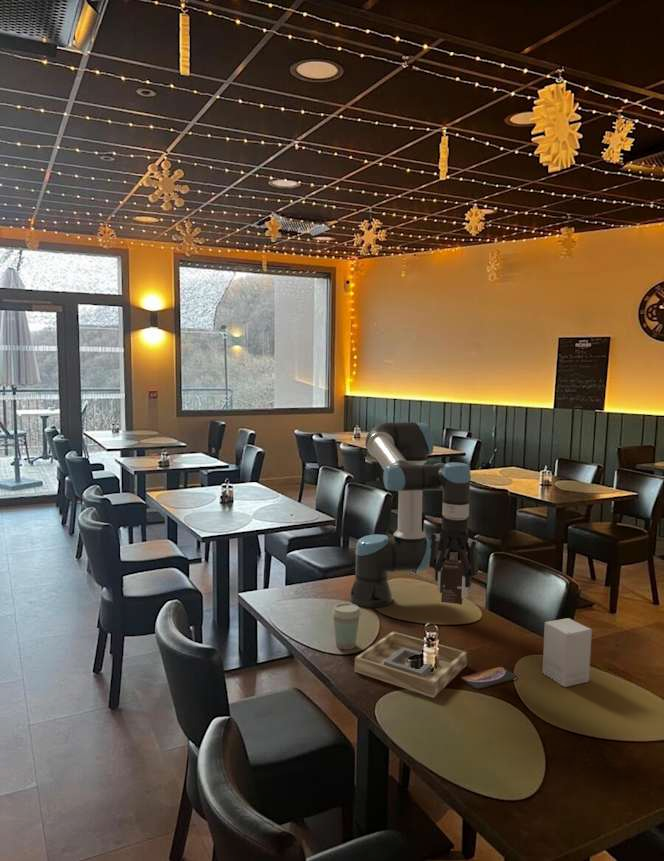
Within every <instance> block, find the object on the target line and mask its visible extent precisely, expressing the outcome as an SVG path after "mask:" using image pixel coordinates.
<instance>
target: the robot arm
mask: <svg viewBox="0 0 664 861" xmlns="http://www.w3.org/2000/svg"><path fill="white" fill-rule="evenodd" d="M365 449H366V450H367V452H368V453H369V455H370V456H371V457H372V458H375V459H376V460H377V461H378V463H379V465H380V466H381V468H382V470H383V475H382V476H383V477H382V478H383V479H382V481H383V484H384V489H386V490H387V491H396V492H398V494H397V495H398V496H397V497H398V500H397V503H398V504H397V508H398V509H397V530H395V532H393V536H392V537H393V539H390V538H389V537H388V535H385V534H368V535H365V536H363V537H361V538H359V539H357V541H356V547H355V552H354V553H355V579H354V582H353V584H352V587H351V590H350V592H349V601H350V602H351V604H355V605H357V606H358V607H362V608H382V607H386V606H389V605H391V603H392V601H393V594H392V590H391V588H390V585H389V581H388V576H389V575H388V574H389V573H399V572H401V573H402V572H404V573H405V572H412V573H416V572H422V571H425V570H426V569H427V568H428V566H429V568H432V569H434V580H435V582H437V592H436V593H437V594H442V571H443V561H444V559H447V555H448V553H449V551H450V550H452V549H453V550H454V551H457V554H458V555H459V560H461V563H462V565H463V570H464V576H462V597H461V598H462V599H463V600H465V599H466V598H467V597H468V590H469V588H470V587H471V585H472V577H475V576H476V575H477V574H479V566H478V549H477V548H478V546H479V540H478V539H472V538H470V536H469V534H468V532H469V518H468V517H469V516H470V489H471V488H470V487H471V478H472V477H471V476H472V475H471V467H470V465H469V464H467V463H466V462H465V463H463V462H456V461H455V462H454V461H453V462H447V463H443V462H438V463H435V464H429V465H428V464H425V463H427V462H428V456H430V455H432V454H433V452H434V437H433V434H432V431H431V428H430V427H429V425H428V424H427V423H425V422H416V421H415V422H414V421H412V422H409V421H406V422H403V421H402V422H391V421H390V422H382V423H380V424H377V425H375V426H374V427H373V428H371V429H370V431H368V434H367V435H366V438H365ZM423 491H442V503H441V504H442V505H441V506H442V507H441V508H442V509H441V510H442V512H441V515H442V517H441V531H440V533H437V532H435V533H433V534H431V536H430V538H431V541H430V540H429V539H428V538H427V537H426V536H427V535H426V533H425V532H424V531H423V530H422V527H423V526H422V524H423V523H422V521H423V519H422V518H423V515H422V514H423ZM441 540H442V542H443V545H442V548H441V552H440V555H439V556H438V554H439V546H440V541H441ZM467 543H468V547H469V557H468V554H467V549H466V544H467ZM469 559H470V560H469Z"/></svg>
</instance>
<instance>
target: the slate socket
mask: <svg viewBox="0 0 664 861" xmlns="http://www.w3.org/2000/svg"><path fill="white" fill-rule="evenodd" d="M420 654H422V652H418V651H415V650H411V649H408V648H404V647H402V648H401V649H400V650H398V651H397V652H396V653H394V654H393V655H392V656H391V657H389V658H388V659H387V660H385V661H384V665H385V666H388V667H392V668H395V669H398V670H401V671H404V672H407V673H411V674H414V675H417V676H420V677H423V678H424V677H425V676H426V675H427V674H429V673H430V671H431V667H432V664H424V665H423V666H422V667H421V668H420V669H419V670H418V669H415V668H411V667H408V666H405V665H402V664H399V663H398V662H399V661H400V660H402V659H403V658H404V657H407V658H409V657H411V656H414V655H420ZM437 665H439V657H438V658H437Z"/></svg>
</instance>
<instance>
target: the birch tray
mask: <svg viewBox="0 0 664 861" xmlns="http://www.w3.org/2000/svg"><path fill="white" fill-rule="evenodd" d="M424 640H425V639H422V638H418V637H414V636H411V635H408V634H405V633H400V632H397V631H395V630H394V631H391V632H390V633H389V634H386V635H385V636H384V637H382V638H381V639H380V640H378V641H376V642H375V643H374V644H371V646H369V647H368V648H367V649H365V650H364V651H363V652H361V653H360V654H358V655H357V656H355V657H354V672H355V673H357V674H361V675H363V676H367V677H370V678H373V679H376V680H379V681H382V682H384V683H387V684H391V685H394V686H396V687H400V688H403V689H406V690H409V691H411V692H414V693H418V694H421V695H423V696H426V697H430V698H432V699H433V698H435V697H437V696H438V694H439V693H440V692H441V691H442V690H443V689H444V688H446V686H447V685H448V684H450V682H451V681H453V679H455V678H456V676H457V675H458V674H459V673H461V671H463V669H465V668H466V666H467V665H468V652H467V651H465V650H461V649H457V648H454V647H451V646H447V645H444V644H439V643H437V644H438V648H439V665H437V668H436V669H435V671H433V672H430V673H429V674H427V675H426V676H425V677H424V678H423V677H420V676H417V675H414V674H411V673H407V672H404V671H401V670H398V669H395V668H392V667H388V666H385V665H384V661H385V660H387V659H388V658H389V657H391V656H392V655H393V654H394V653H396V652H397V651H398V650H400V649H401V648H402V647H404V648H408V649H411V650H415V651H418V652H422V650H423V646H424ZM407 660H408V658H407V657H404V658H403V659H402V660H400V661H399V662H398V663H399V664H402V665H405V666H408V665H407ZM418 670H419V669H418Z"/></svg>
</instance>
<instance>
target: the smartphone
mask: <svg viewBox="0 0 664 861" xmlns="http://www.w3.org/2000/svg"><path fill="white" fill-rule="evenodd" d="M515 678H518V675H516V674H514V673H513V672H511V671H509V670H508V669H506V668H505V667H502V666H496V667H493V668H489V669H486V670H482V671H478V672H475V673H471V674H468V675H463V676H461V677H460V680H461V681H462V682H463V683H465V684H466V683H467V684H466V685H468V686H469V687H471V688H472V687H473V689H474V690H476V691H480V690H485V689H487V688H491V686H492V687H494V685H495V686H497V684H499V683H502V684H504V683H503V682H506V681H509V680H513V679H515ZM518 679H519V678H518ZM513 681H514V680H513ZM509 682H510V681H509ZM506 683H507V682H506ZM499 685H500V684H499ZM484 688H485V689H484Z"/></svg>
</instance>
